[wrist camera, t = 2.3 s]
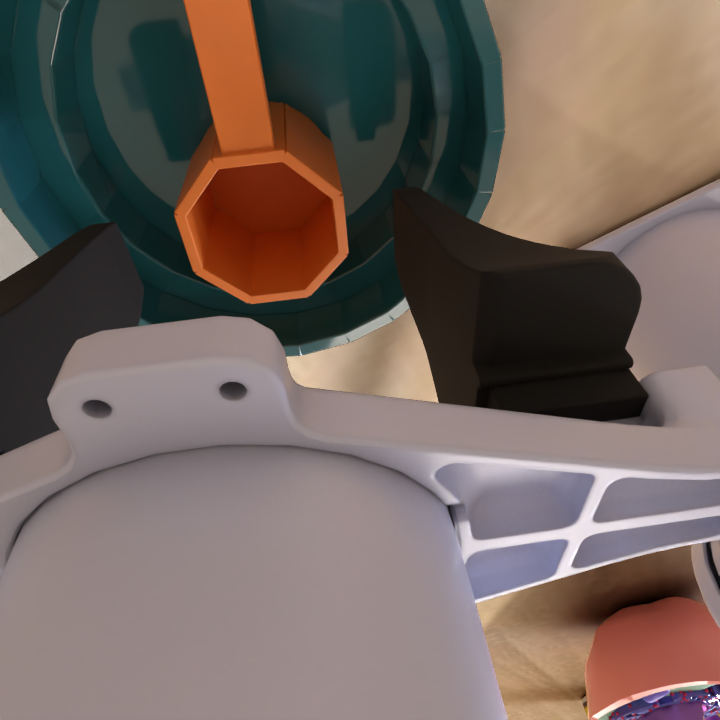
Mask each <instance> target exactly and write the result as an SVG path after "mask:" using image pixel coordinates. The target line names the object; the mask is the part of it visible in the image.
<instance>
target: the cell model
mask: <svg viewBox="0 0 720 720" xmlns="http://www.w3.org/2000/svg"><path fill="white" fill-rule="evenodd" d="M585 686H586V695H587V706H588V720H720V629H719V627H718V626H717V624H716V622H715V621H714V619H713V617H712V615H711V614H710V612H709V610H708V608H707V606H706V604H705V603H703V602H699V601H696V600H692V599H689V598H685V597H668V598H664V599H661V600H658V601H655V602H652V603H649V604H643V605H635V606H629V607H625V608H623V609H621V610H619V611H617V612H615V613H614V614H612V615H611V616H610V617H609V618H608V619H606V620H605V621H604V622H603V623H602V624H601V625H600V626H599V627H598V628H597V630H596V632H595V634H594V638H593V641H592V645H591V648H590V651H589V653H588V656H587V660H586V664H585Z"/></svg>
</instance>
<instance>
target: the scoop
mask: <svg viewBox="0 0 720 720" xmlns="http://www.w3.org/2000/svg"><path fill="white" fill-rule="evenodd" d="M183 2H184V6H185V10H186V14H187V18H188V22H189V26H190V30H191V34H192V38H193V42H194V46H195V50H196V54H197V58H198V62H199V66H200V70H201V74H202V78H203V82H204V86H205V90H206V94H207V98H208V102H209V106H210V110H211V114H212V118H213V123H212V124H211V126H210V127H209V128H208V130H207V132H206V134H205V135H204V137H203V140H202V141H201V143H200V145H199V146H198V148H197V149H196V151H195V152H194V154H193V155H192V158H191V162H190V165H189V168H188V171H187V174H186V177H185V180H184V183H183V186H182V190H181V193H180V196H179V199H178V202H177V205H176V208H175V214H174V217H175V220H176V222H177V225H178V228H179V231H180V234H181V237H182V240H183V243H184V246H185V249H186V252H187V255H188V258H189V261H190V264H191V267H192V270H193V272H195V274H196V275H198V276H200V277H201V278H203V279H205V280H207V281H208V282H210V283H212V284H214V285H216V286H217V287H219V288H221V289H223V290H225V291H226V292H228V293H230V294H232V295H233V296H235V297H237V298H239V299H241V300H242V301H244V302H246V303H249V302H250V304H256V303H264V302H272V301H281V300H289V299H297V298H305V297H308V296H309V295H310V296H311V295H312V294H313V293H314V292H315V291H316V290H317V288H318V287H319V286H320V285H321V284H322V283H323V282H324V281H325V280H326V279H327V278H328V276H329V275H330V274H331V273H332V272H333V271H334V270H335V269H336V268H337V267H338V266H339V265H340V263H341V262H342V261H343V260H344V259H345V258H346V257H347V256H348V253H349V250H348V239H347V229H346V218H345V207H344V197H343V191H342V187H341V182H340V177H339V172H338V167H337V163H336V158H335V153H334V148H333V144H332V143H331V140H330V139H329V138H327V137H326V136H325V135H324V134H323V133H322V132H321V131H320V130H319V128H318V127H317V126H316V125H315V124H314V123H313V122H312V121H311V120H310V119H309V118H308V117H306V116H305V115H304V114H302V113H301V112H299V111H297V110H295V109H293V108H291V107H290V106H289V105H288V104H286V103H285V104H284V103H283V102H280V103H276V102H269V101H268V98H267V93H266V87H265V81H264V76H263V70H262V64H261V58H260V53H259V47H258V41H257V36H256V30H255V24H254V19H253V13H252V7H251V2H250V0H183Z"/></svg>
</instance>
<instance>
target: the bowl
mask: <svg viewBox="0 0 720 720" xmlns="http://www.w3.org/2000/svg"><path fill="white" fill-rule="evenodd" d="M250 2H251V7H252V13H253V19H254V24H255V30H256V36H257V41H258V47H259V53H260V58H261V64H262V70H263V76H264V81H265V87H266V93H267V98H268V101H269V102H276V103H280V102H283V103H284V104H285V103H286V104H288V105H289V106H290V107H291V108H293V109H295V110H297V111H299V112H301V113H302V114H304V115H305V116H306V117H308V118H309V119H310V120H311V121H312V122H313V123H314V124H315V125H316V126H317V127H318V128H319V130H320V131H321V132H322V133H323V134H324V135H325V136H326V137H327V138H329V139H330V140H331V143H332V144H333V148H334V153H335V158H336V163H337V167H338V172H339V177H340V182H341V187H342V191H343V197H344V207H345V218H346V229H347V239H348V250H349V253H348V256H347V257H346V258H345V259H344V260H343V261H342V262H341V263H340V265H339V266H338V267H337V268H336V269H335V270H334V271H333V272H332V273H331V274H330V275H329V276H328V278H327V279H326V280H325V281H324V282H323V283H322V284H321V285H320V286H319V287H318V288H317V290H316V291H315V292H314V293H313V294H312V295H311V296H310V295H309V296H308V297H305V298H297V299H289V300H281V301H272V302H264V303H256V304H250V302H249V303H246V302H244V301H242V300H241V299H239V298H237V297H235V296H233V295H232V294H230V293H228V292H226V291H225V290H223V289H221V288H219V287H217V286H216V285H214V284H212V283H210V282H208V281H207V280H205V279H203V278H201V277H200V276H198V275H196V274H195V272H193V270H192V267H191V264H190V261H189V258H188V255H187V252H186V249H185V246H184V243H183V240H182V237H181V234H180V231H179V228H178V225H177V222H176V220H175V217H174V214H175V208H176V205H177V202H178V199H179V196H180V193H181V190H182V186H183V183H184V180H185V177H186V174H187V171H188V168H189V165H190V162H191V158H192V155H193V154H194V152H195V151H196V149H197V148H198V146H199V145H200V143H201V141H202V140H203V137H204V135H205V134H206V132H207V130H208V128H209V127H210V126H211V124H212V123H213V118H212V114H211V110H210V106H209V102H208V98H207V94H206V90H205V86H204V82H203V78H202V74H201V70H200V66H199V62H198V58H197V54H196V50H195V46H194V42H193V38H192V34H191V30H190V26H189V22H188V18H187V14H186V10H185V6H184V2H183V0H0V208H1V209H2V212H3V213H4V214H5V215H6V217H7V218H8V219H9V220H10V222H11V223H12V224H13V225H14V227H15V228H16V229H17V231H18V232H19V233H20V234H21V236H22V237H23V238H24V239H25V241H26V242H27V243H28V244H29V246H30V247H31V248H32V249H33V251H34V252H35V253H36V254H37V256H38V257H41V256H42V255H44V254H45V253H46V252H48V251H49V250H51V249H52V248H54V247H55V246H57V245H58V244H60V243H61V242H63V241H64V240H66V239H67V238H69V237H70V236H72V235H73V234H75V233H76V232H78V231H80V230H81V229H83V228H85V227H87V226H89V225H92V224H99V223H108V222H116V223H117V225H118V228H119V230H120V232H121V235H122V237H123V239H124V242H125V244H126V246H127V249H128V251H129V253H130V256H131V258H132V260H133V263H134V265H135V267H136V270H137V272H138V275H139V277H140V279H141V282H142V284H143V286H144V293H143V304H142V311H141V318H140V321H139V325H138V326H144V325H152V324H160V323H168V322H176V321H184V320H192V319H200V318H208V317H216V316H229V317H242V318H250V319H252V320H254V321H256V322H258V323H260V324H262V325H263V326H265V327H267V328H269V329H271V330H273V332H274V333H275V335H276V337H277V338H278V340H279V341H280V343H281V345H282V346H283V348H284V351H285V355H286V357H287V356H301V354H302V355H306V354H310V353H313V352H317V351H321V350H325V349H329V348H332V347H336V346H340V345H344V344H347V343H349V342H353V341H355V340H357V339H359V338H361V337H363V336H365V335H367V334H369V333H371V332H373V331H375V330H377V329H379V328H381V327H383V326H385V325H387V324H389V323H391V322H393V321H394V320H396V319H397V318H398V317H399V316H401V315H402V314H403V313H404V312H406V311H407V310H408V309H409V305H408V302H407V300H406V297H405V295H404V292H403V289H402V287H401V284H400V279H399V275H398V271H397V266H396V262H395V257H394V219H393V189H398V188H406V187H415V186H416V187H418V188H420V189H422V190H423V191H425V192H426V193H428V194H429V195H431V196H432V197H434V198H435V199H437V200H438V201H440V202H442V203H443V204H445V205H446V206H448V207H450V208H451V209H453V210H454V211H456V212H458V213H460V214H461V215H463V216H465V217H467V218H469V219H471V220H473V221H475V222H477V223H479V221H480V219H481V217H482V215H483V212H484V210H485V208H486V206H487V204H488V202H489V200H490V197H491V195H492V192H493V188H494V183H495V178H496V173H497V168H498V163H499V158H500V153H501V148H502V143H503V138H504V133H505V130H504V129H505V112H504V92H503V71H502V59H501V53H500V49H499V46H498V43H497V40H496V37H495V34H494V30H493V27H492V24H491V21H490V18H489V14H488V11H487V8H486V5H485V2H484V0H250Z"/></svg>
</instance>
